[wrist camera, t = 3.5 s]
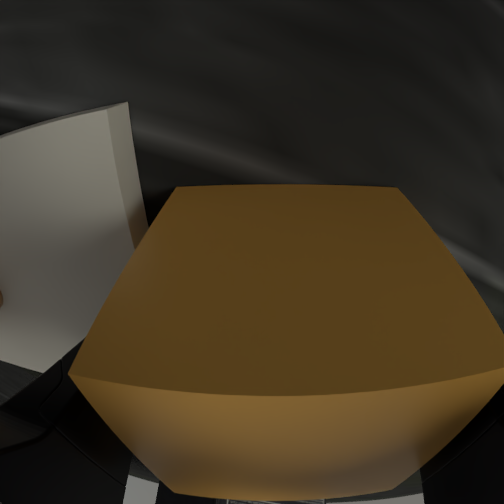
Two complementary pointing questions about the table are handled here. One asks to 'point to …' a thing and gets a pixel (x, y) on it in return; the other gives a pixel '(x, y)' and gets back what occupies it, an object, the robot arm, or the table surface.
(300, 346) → the mustard yellow cube
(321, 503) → the small box
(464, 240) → the table surface
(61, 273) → the plate
